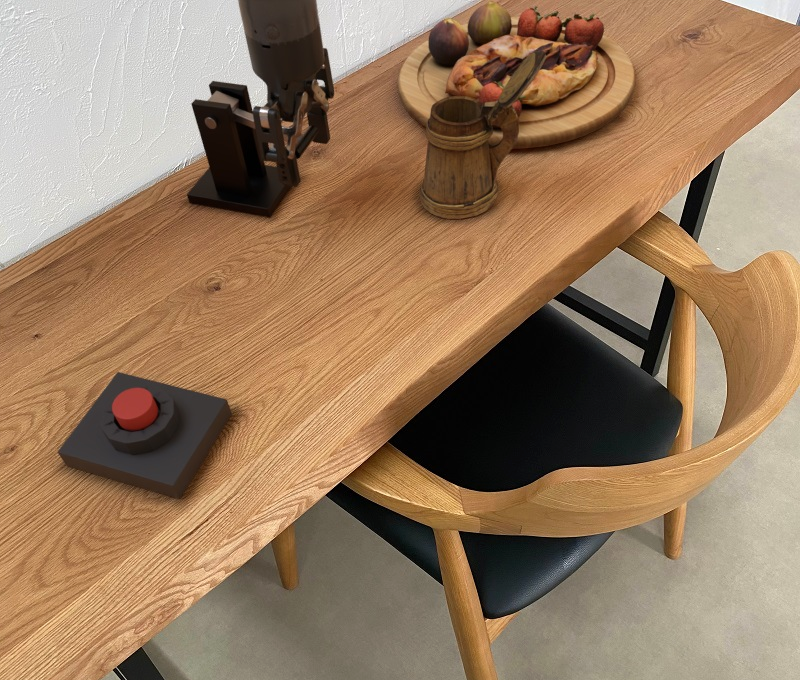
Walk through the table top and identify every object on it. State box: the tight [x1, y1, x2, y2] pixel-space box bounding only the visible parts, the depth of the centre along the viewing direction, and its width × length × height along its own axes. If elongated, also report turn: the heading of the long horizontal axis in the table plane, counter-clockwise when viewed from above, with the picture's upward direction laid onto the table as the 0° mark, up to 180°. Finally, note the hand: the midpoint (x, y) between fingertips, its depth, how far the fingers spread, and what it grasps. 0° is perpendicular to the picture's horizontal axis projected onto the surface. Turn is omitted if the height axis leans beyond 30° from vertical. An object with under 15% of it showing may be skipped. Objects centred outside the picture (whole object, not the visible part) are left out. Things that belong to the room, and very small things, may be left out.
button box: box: [57, 371, 233, 500], centre depth 73 cm, size 12×10×4 cm
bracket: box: [186, 80, 292, 219], centre depth 93 cm, size 11×8×13 cm
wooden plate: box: [396, 0, 637, 149], centre depth 106 cm, size 32×32×8 cm
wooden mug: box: [419, 51, 547, 220], centre depth 87 cm, size 9×14×18 cm, turn 79°
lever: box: [206, 91, 318, 160], centre depth 89 cm, size 12×5×2 cm, turn 70°
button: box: [112, 388, 158, 431], centre depth 71 cm, size 4×4×2 cm
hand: (306, 162), depth 91 cm, fingers open, 8 cm apart
